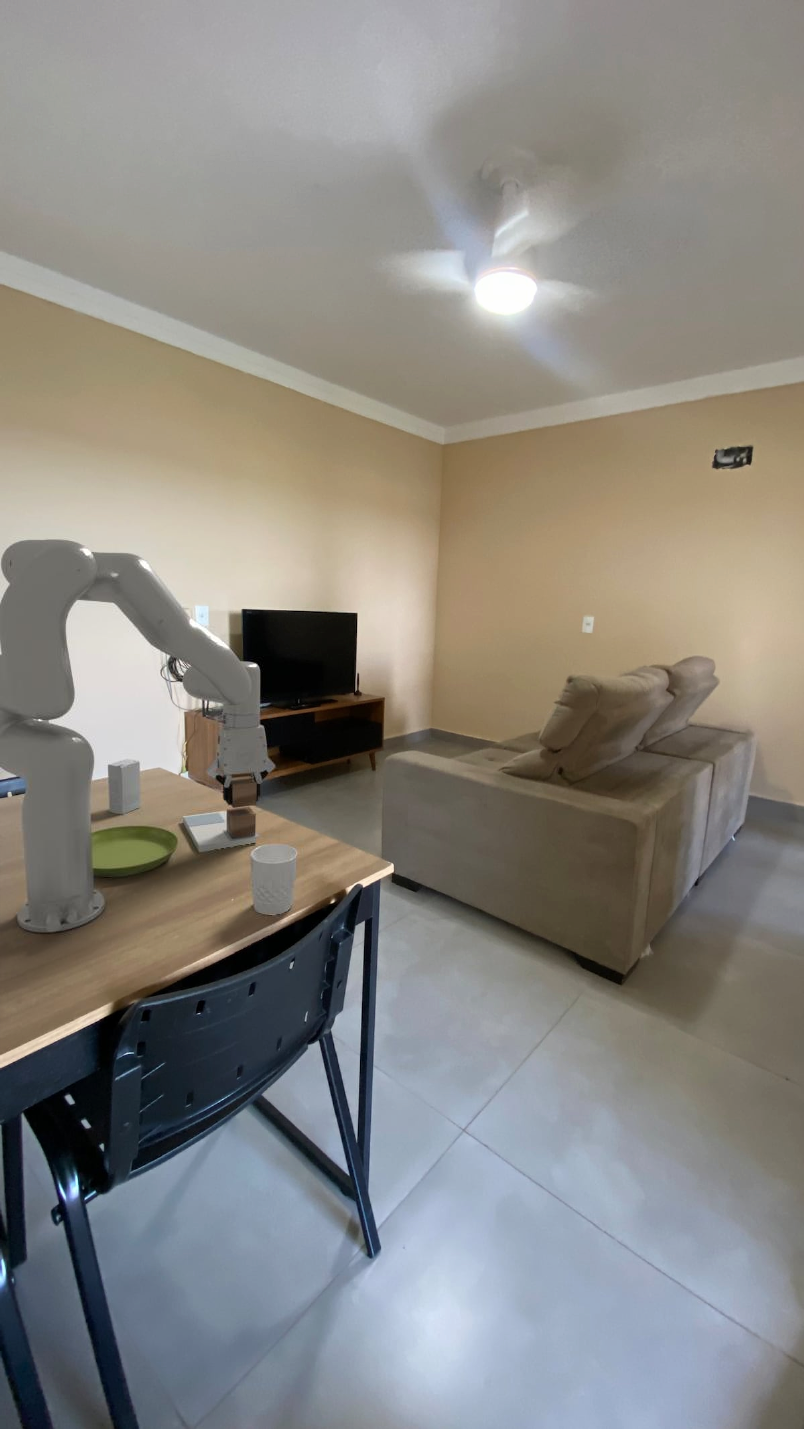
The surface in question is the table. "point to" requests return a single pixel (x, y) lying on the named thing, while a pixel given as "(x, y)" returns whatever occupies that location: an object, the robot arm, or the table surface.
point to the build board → (212, 831)
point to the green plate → (130, 849)
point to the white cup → (273, 878)
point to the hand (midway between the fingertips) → (241, 800)
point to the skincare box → (124, 786)
